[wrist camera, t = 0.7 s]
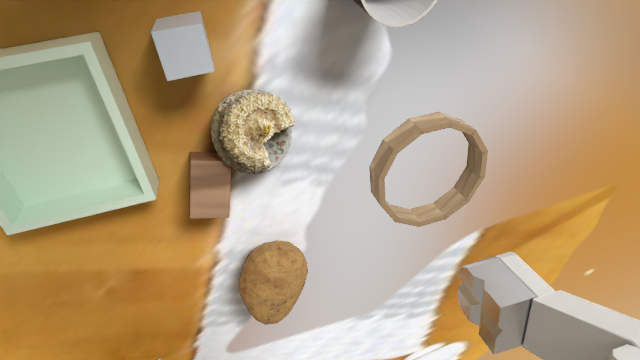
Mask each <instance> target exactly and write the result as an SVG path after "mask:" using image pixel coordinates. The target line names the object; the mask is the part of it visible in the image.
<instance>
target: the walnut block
mask: <svg viewBox="0 0 640 360" xmlns="http://www.w3.org/2000/svg"><path fill="white" fill-rule="evenodd" d="M230 184H231V167H230V166H228V165H227V164H226V163H225V162H223V160H222V159H221V157H220V156H219V155H218V153H209V152H190V185H189V209H190V219H194V218H229V209H230Z"/></svg>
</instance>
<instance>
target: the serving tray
mask: <svg viewBox="0 0 640 360" xmlns="http://www.w3.org/2000/svg"><path fill="white" fill-rule="evenodd" d="M158 183H159V178H158V176H157V173H156V171H155V168H154V166H153V163H152V161H151V158H150V156H149V153H148V151H147V148H146V146H145V143H144V141H143V139H142V136H141V134H140V131H139V129H138V126H137V124H136V121H135V119H134V116H133V114H132V111H131V109H130V106H129V104H128V101H127V99H126V96H125V94H124V91H123V89H122V86H121V84H120V81H119V79H118V77H117V74H116V72H115V69H114V67H113V64H112V62H111V59H110V57H109V54H108V52H107V49H106V47H105V44H104V42H103V39H102V37H101V34H100V32H93V33H88V34H82V35H76V36H71V37H65V38H59V39H54V40H48V41H42V42H37V43H31V44H25V45H20V46H14V47H8V48H2V49H0V226H1V227H2V228H3V230H4V231H5V233H6V234H7V235H12V234H16V233H20V232H24V231H28V230H32V229H36V228H40V227H45V226H49V225H53V224H57V223H61V222H65V221H69V220H73V219H78V218H82V217H86V216H90V215H94V214H98V213H102V212H106V211H111V210H115V209H119V208H123V207H127V206H131V205H135V204H139V203H144V202H148V201H152V200H156V198H157V191H158Z"/></svg>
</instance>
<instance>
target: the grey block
mask: <svg viewBox="0 0 640 360" xmlns="http://www.w3.org/2000/svg"><path fill="white" fill-rule="evenodd" d="M151 34H152V37H153V40H154V43H155V46H156V49H157V52H158V55H159V58H160V61H161V64H162V67H163V70H164V73H165V76H166V78H167V81H171V80H176V79H181V78H186V77H191V76H196V75H201V74H206V73H211V72H215V70H214V64H213V58H212V53H211V49H210V45H209V41H208V38H207V34H206V30H205V26H204V23H203V19H202V15H201V11H197V12H191V13H186V14H180V15H174V16H169V17H163V18H157V19H156V21H155V24H154V26H153V29H152V31H151Z"/></svg>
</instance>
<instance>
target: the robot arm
mask: <svg viewBox="0 0 640 360" xmlns="http://www.w3.org/2000/svg"><path fill="white" fill-rule="evenodd" d="M459 278H460V279H461V280H462V283H461V285H460V286H459V287H458V300H459V304H460V307H461V309H462V311H463V313H464V314H465V316H466V317H467V319H468V320H469V321H470V322H472V323H474V324H476V325H478V326H479V335H480V337H481V338H482V339H483V341H484V342H485V343H486V345H487V346H488V347H489V349H490V350H491V351H492V353H493V354H497V353H500V352H503V351H506V350H509V349H513V348H516V347H519V346H522V345H523V348H525V349H526V350H528V351H530V352H532V353H533V354H535V355H536V356H538V357H540V358H541V359H543V360H640V320H637V319H635V318H632V317H629V316H627V315H624V314H622V313H619V312H616V311H614V310H611V309H609V308H606V307H603V306H601V305H598V304H595V303H593V302H590V301H587V300H585V299H582V298H580V297H577V296H574V295H572V294H569V293H566V292H564V291H561V290H559V291H554V290H553V289H552V288H551V287H550V286H549V285H548V284H547V283H546V282H545V281H544V280H543V279H542V278H541V277H540V276H539V275H538V274H537V273H536V272H534V271H533V270H532V269H531V268H530V267H529V266H528V265H527V264H526V263H525V262H524V261H523V260H522V259H521V258H520V257H519V256H518V255H517V254H515V253H513V252H507V253H504V254H501V255H497V256H494V257H490V258H487V259H484V260H480V261H477V262H474V263H471V264H468V265H465V266H462V267H461V268H460V270H459ZM157 360H161V359H157Z"/></svg>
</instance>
